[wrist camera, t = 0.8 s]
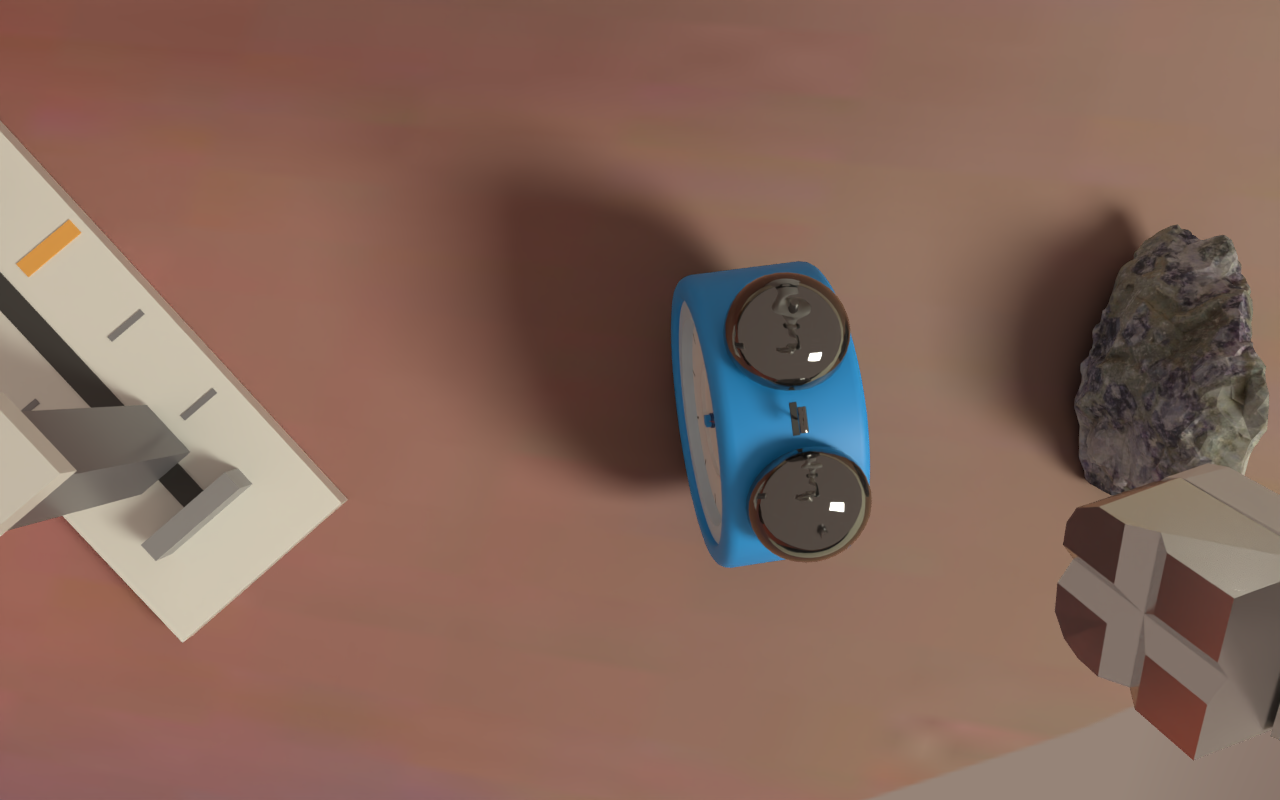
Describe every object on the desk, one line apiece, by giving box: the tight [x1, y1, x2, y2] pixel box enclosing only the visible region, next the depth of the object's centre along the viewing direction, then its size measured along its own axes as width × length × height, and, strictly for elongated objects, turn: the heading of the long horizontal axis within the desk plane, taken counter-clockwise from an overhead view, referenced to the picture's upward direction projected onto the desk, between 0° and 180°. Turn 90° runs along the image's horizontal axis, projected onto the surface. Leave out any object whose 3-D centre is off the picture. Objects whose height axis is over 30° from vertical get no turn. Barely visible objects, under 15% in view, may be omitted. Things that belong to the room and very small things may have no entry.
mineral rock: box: [1074, 225, 1269, 495], centre depth 49 cm, size 13×11×10 cm
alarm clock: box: [671, 261, 872, 568], centre depth 44 cm, size 13×6×15 cm, turn 8°
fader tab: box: [0, 393, 190, 536], centre depth 40 cm, size 4×4×14 cm
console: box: [0, 121, 348, 643], centre depth 47 cm, size 26×10×4 cm, turn 41°
